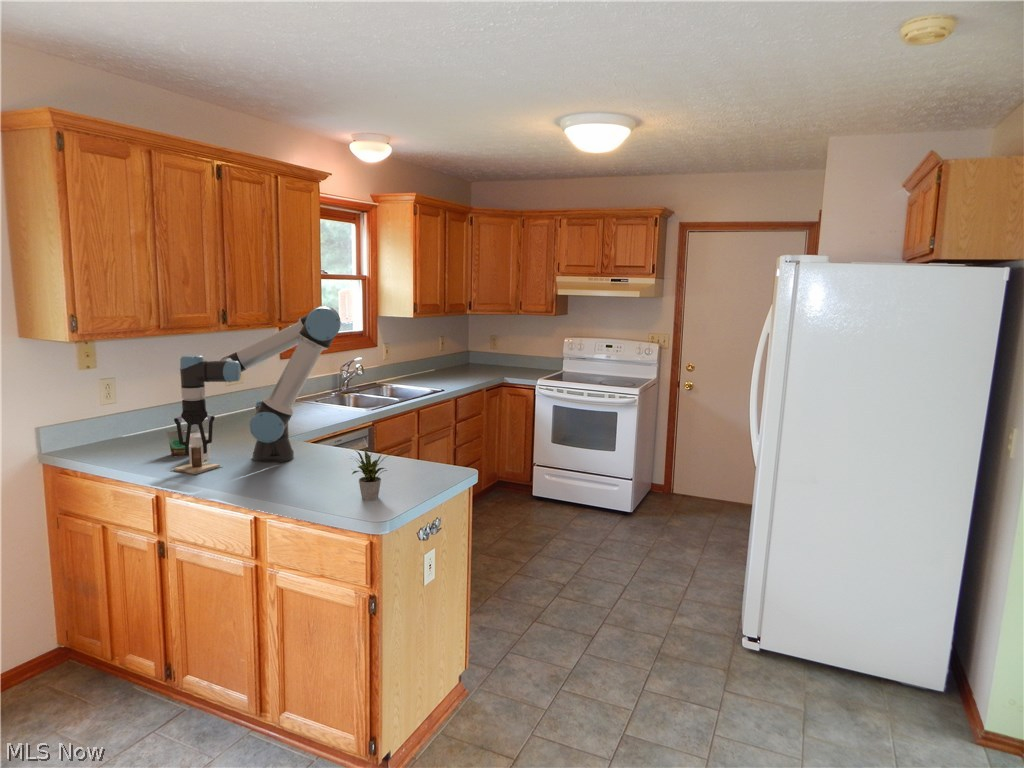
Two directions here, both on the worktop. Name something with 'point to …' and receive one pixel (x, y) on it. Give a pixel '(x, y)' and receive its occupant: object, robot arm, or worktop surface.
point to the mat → (195, 474)
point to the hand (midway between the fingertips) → (197, 462)
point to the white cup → (199, 443)
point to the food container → (174, 442)
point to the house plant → (369, 477)
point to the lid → (196, 463)
